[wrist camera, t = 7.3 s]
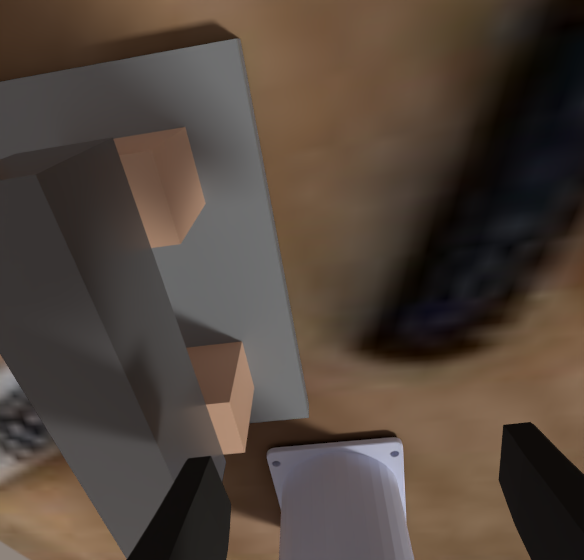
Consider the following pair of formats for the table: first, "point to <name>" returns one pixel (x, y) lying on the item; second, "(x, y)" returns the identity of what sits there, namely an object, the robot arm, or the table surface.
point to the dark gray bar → (97, 332)
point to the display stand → (188, 210)
